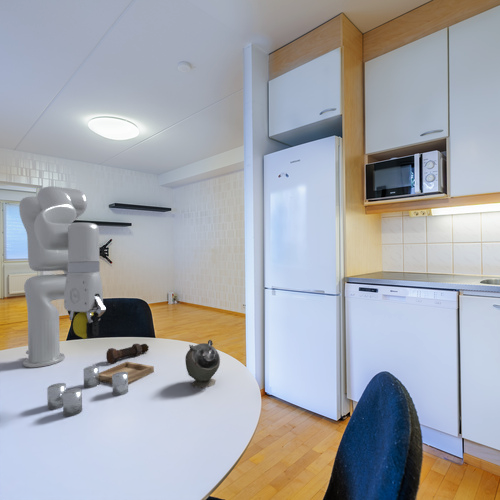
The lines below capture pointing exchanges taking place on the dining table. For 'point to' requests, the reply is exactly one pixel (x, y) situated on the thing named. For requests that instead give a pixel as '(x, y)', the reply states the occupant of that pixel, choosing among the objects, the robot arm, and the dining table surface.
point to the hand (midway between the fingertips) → (84, 334)
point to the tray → (131, 368)
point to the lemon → (81, 324)
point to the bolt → (125, 352)
